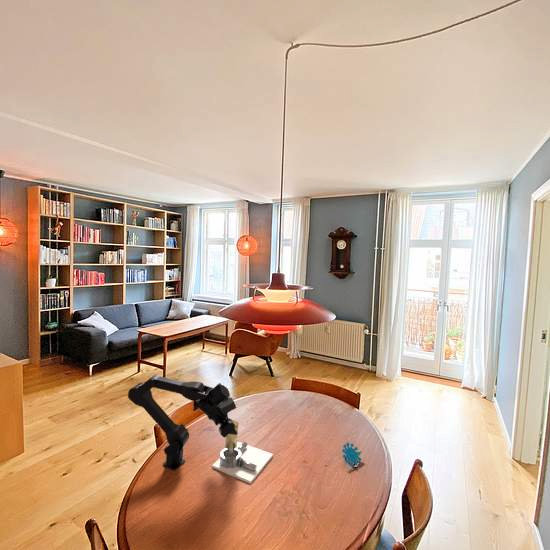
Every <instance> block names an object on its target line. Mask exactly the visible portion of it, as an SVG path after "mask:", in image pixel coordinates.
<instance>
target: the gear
mask: <svg viewBox="0 0 550 550" xmlns="http://www.w3.org/2000/svg"><path fill="white" fill-rule="evenodd" d="M354 446H355V445H354V443H353V442H351V443H350V442H346V444H343V445H342V447H343V448H341V452H342V453H343V454H342V458H343V459H344V458H347V459H344V462H345V463H346V464H349V465H348V467H350V466H351V467H350V468H354V464H355V465H357V463H360V462H361V461H362V458H361V457H360V455H361V454H362V450H359V449H358V447H357V446H355V447H354ZM353 447H354V448H353ZM358 450H359V451H358ZM358 460H359V461H358Z"/></svg>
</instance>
